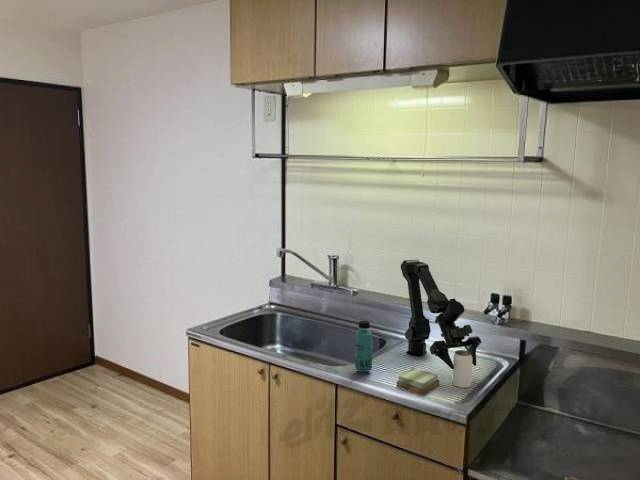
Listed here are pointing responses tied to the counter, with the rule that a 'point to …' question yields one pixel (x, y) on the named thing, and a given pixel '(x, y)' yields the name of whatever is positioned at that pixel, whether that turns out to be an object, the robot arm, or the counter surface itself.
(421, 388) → the tower base
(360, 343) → the beverage bottle
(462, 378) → the can
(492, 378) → the counter surface
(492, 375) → the counter surface
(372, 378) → the counter surface
